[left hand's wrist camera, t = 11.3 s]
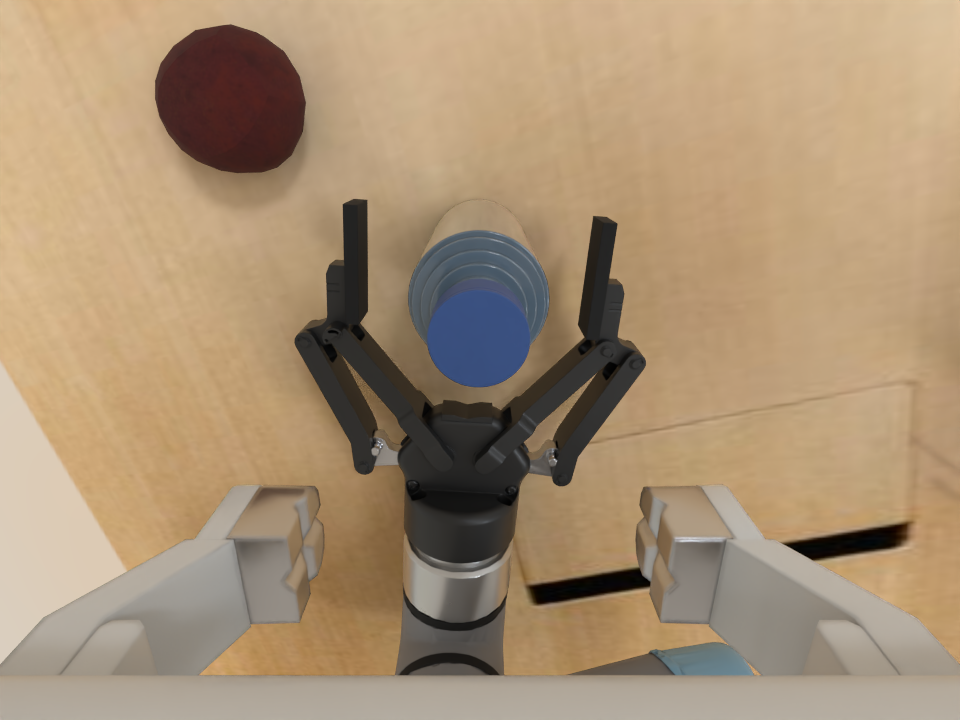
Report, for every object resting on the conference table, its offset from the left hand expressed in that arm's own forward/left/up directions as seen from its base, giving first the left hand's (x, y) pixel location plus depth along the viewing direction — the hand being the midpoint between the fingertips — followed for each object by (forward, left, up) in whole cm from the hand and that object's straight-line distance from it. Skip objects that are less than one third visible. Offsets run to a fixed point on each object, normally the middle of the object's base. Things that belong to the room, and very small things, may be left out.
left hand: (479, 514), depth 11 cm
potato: (+15, +5, -29) cm, 33 cm away
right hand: (+2, -2, -22) cm, 22 cm away
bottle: (0, 0, -29) cm, 29 cm away
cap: (0, 0, -10) cm, 10 cm away
